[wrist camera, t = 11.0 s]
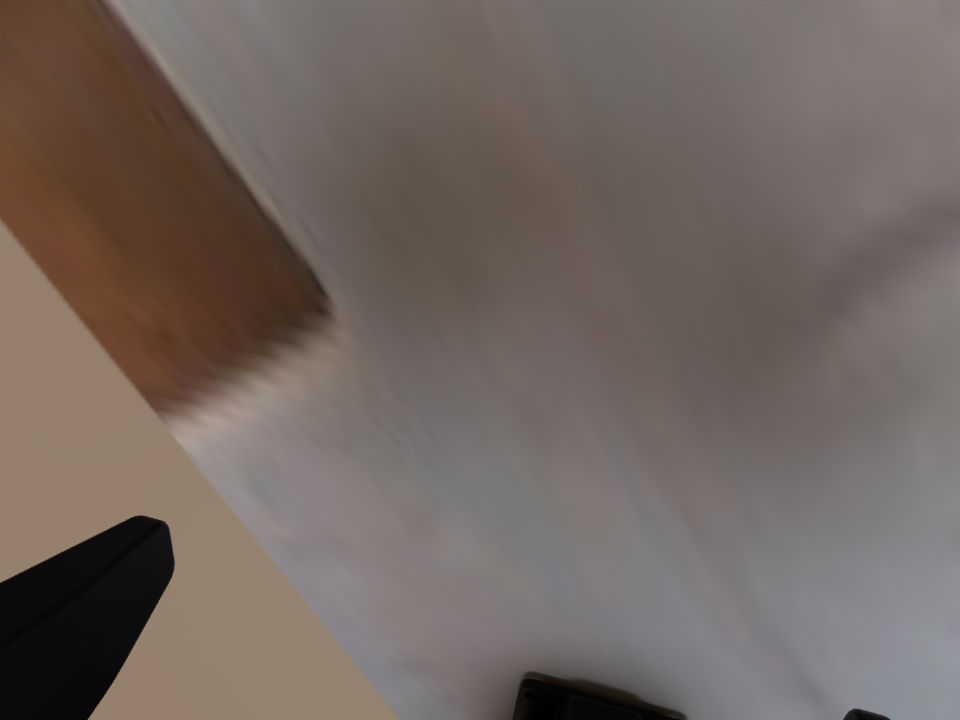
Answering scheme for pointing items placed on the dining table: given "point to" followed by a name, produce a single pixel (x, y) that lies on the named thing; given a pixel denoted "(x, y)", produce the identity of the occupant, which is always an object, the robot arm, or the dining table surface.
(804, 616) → the dining table surface
